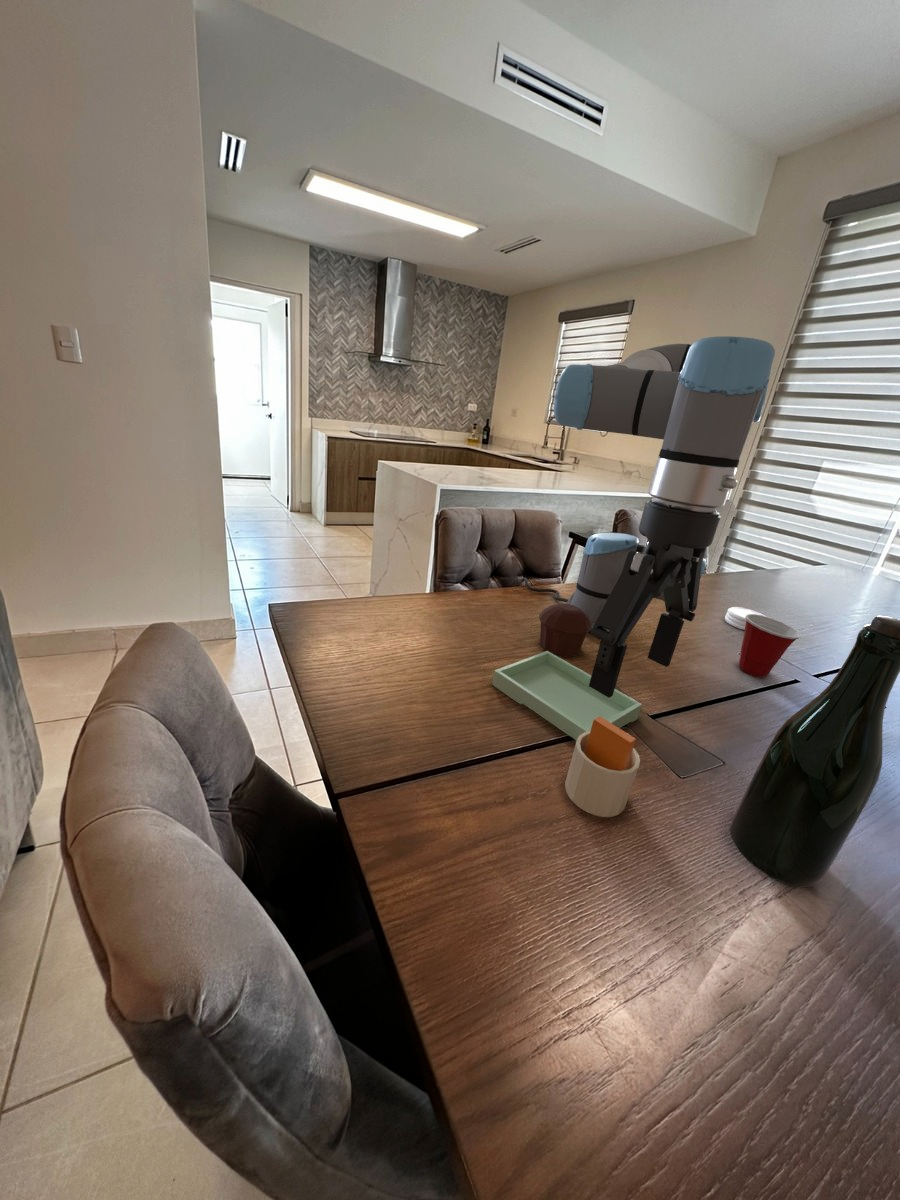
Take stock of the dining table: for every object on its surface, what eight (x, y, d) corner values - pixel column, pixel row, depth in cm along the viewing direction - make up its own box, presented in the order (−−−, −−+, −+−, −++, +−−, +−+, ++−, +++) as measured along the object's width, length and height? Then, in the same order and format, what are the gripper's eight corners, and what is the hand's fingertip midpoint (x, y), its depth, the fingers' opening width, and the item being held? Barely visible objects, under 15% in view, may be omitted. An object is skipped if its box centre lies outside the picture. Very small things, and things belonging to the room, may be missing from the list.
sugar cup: (552, 789, 66) (564, 744, 63) (586, 766, 71) (599, 723, 68) (602, 830, 60) (618, 782, 57) (635, 802, 65) (651, 757, 62)
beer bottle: (841, 879, 58) (992, 642, 45) (782, 901, 54) (928, 649, 41) (764, 812, 67) (871, 598, 54) (709, 826, 63) (810, 601, 50)
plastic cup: (790, 688, 101) (813, 639, 97) (737, 677, 103) (757, 629, 98) (769, 664, 111) (789, 618, 106) (720, 654, 113) (738, 609, 108)
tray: (491, 684, 89) (494, 670, 88) (544, 663, 99) (547, 650, 98) (586, 751, 74) (591, 734, 73) (637, 719, 84) (642, 704, 83)
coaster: (764, 625, 134) (768, 613, 133) (764, 636, 126) (768, 624, 125) (725, 614, 139) (729, 603, 137) (722, 624, 131) (727, 613, 129)
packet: (575, 782, 67) (593, 719, 63) (581, 778, 68) (599, 715, 64) (609, 808, 63) (630, 742, 59) (614, 803, 64) (636, 738, 60)
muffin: (589, 645, 109) (599, 606, 106) (580, 665, 100) (591, 623, 96) (540, 630, 114) (548, 592, 110) (527, 649, 104) (535, 608, 100)
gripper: (660, 519, 40) (600, 725, 48) (762, 507, 55) (704, 664, 63) (586, 499, 45) (543, 688, 53) (699, 494, 60) (652, 640, 68)
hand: (631, 675), depth 58 cm, fingers open, 13 cm apart
